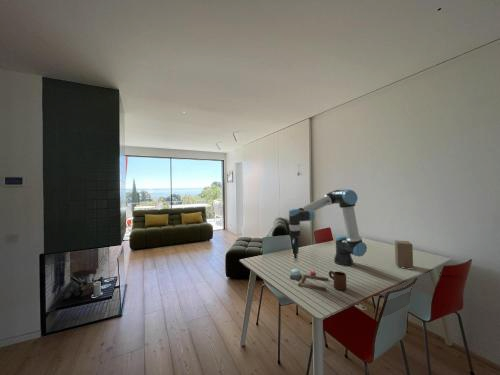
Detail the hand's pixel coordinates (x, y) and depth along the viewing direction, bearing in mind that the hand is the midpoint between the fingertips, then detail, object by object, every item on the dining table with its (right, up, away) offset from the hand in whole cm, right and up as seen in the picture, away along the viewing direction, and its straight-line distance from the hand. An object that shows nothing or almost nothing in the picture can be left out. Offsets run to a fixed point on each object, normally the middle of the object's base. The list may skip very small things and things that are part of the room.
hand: (296, 262), depth 149 cm
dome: (0, -9, 0) cm, 9 cm away
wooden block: (+93, -10, +17) cm, 95 cm away
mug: (+23, -11, -16) cm, 30 cm away
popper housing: (0, -11, 0) cm, 11 cm away
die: (+13, -11, +1) cm, 17 cm away
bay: (+11, -11, -10) cm, 18 cm away
